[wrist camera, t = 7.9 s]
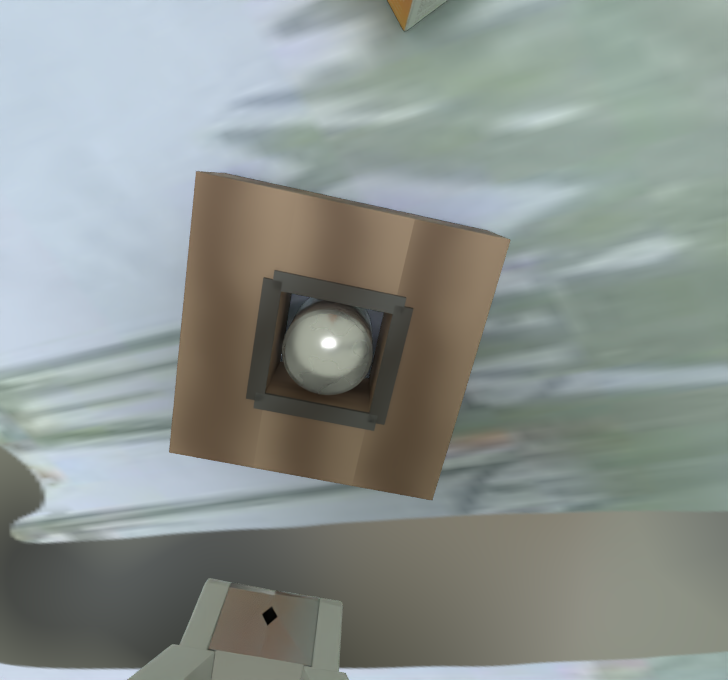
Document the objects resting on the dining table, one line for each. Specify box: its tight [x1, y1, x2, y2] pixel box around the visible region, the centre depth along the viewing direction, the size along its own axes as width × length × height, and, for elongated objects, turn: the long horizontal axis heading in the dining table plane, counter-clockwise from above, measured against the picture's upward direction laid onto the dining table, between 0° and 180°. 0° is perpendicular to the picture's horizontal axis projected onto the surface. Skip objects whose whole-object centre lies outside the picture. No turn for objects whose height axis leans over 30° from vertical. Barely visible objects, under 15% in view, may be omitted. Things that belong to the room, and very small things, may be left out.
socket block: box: [169, 171, 510, 500], centre depth 29 cm, size 16×16×5 cm
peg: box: [282, 297, 373, 395], centre depth 29 cm, size 5×5×5 cm
